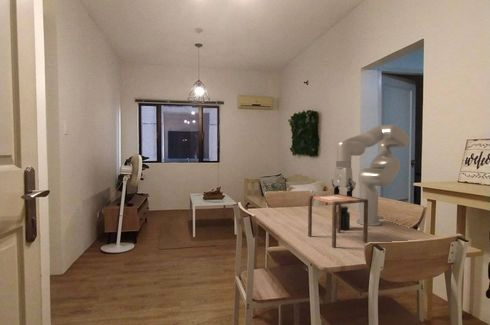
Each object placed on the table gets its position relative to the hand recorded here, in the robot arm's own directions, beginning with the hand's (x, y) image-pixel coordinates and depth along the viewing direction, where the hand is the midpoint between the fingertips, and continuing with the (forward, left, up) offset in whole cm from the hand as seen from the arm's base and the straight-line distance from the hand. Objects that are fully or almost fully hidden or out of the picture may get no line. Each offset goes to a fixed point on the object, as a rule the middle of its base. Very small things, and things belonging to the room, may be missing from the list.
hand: (342, 197), depth 155 cm
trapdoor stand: (+15, +13, -17) cm, 26 cm away
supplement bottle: (-1, 0, -17) cm, 17 cm away
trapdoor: (+15, +13, +2) cm, 20 cm away
